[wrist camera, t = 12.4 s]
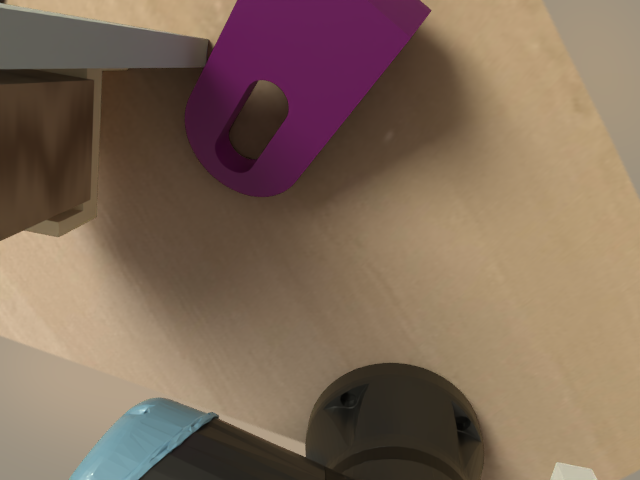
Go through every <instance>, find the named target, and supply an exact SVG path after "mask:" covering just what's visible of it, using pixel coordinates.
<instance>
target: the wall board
mask: <svg viewBox="0 0 640 480" xmlns="http://www.w3.org/2000/svg"><path fill="white" fill-rule="evenodd" d="M207 49H208V39H203V38H197V37H192V36H186V35H180V34H174V33H169V32H163V31H157V30H151V29H146V28H140V27H134V26H128V25H123V24H117V23H111V22H105V21H100V20H94V19H88V18H82V17H77V16H71V15H65V14H59V13H54V12H48V11H42V10H36V9H30V8H25V7H19V6H13V5H7V4H2V3H0V69H35V70H40V71H46V72H52V73H57V74H63V75H68V76H74V77H80V78H85V79H91V80H94V105H93V136H92V167H91V197H90V200H89V201H87V202H84V203H82V204H80V205H78V206H76V207H74V208H71V209H69V210H67V211H65V212H63V213H60V214H58V215H56V216H54V217H52V218H49V219H47V220H45V221H43V222H41V223H38V224H36V225H34V226H32V227H30V228H28V229H25V230H24V231H29V232H34V233H40V234H45V235H50V236H55V237H60V236H62V235H64V234H66V233H68V232H70V231H71V230H73V229H75V228H77V227H79V226H81V225H83V224H85V223H87V222H89V221H90V220H92V219H94V218H96V217H97V195H98V169H99V143H100V117H101V91H102V71H115V70H128V68H204V67H205V65H206V60H207Z"/></svg>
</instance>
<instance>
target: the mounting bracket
mask: <svg viewBox="0 0 640 480" xmlns="http://www.w3.org/2000/svg"><path fill="white" fill-rule="evenodd" d="M430 12H431V10H430V9H429V8H428V7H427V6H426V5H425V4H424V3H422V2H421V1H420V0H237V2H236V4H235V6H234V8H233V10H232V12H231V14H230V16H229V18H228V20H227V22H226V24H225V26H224V29H223V31H222V33H221V35H220V37H219V39H218V41H217V43H216V45H215V47H214V49H213V51H212V53H211V55H210V57H209V59H208V61H207V63H206V65H205V67H204V69H203V71H202V73H201V75H200V77H199V79H198V81H197V83H196V85H195V87H194V89H193V91H192V93H191V95H190V97H189V99H188V102H187V105H186V110H185V128H186V133H187V137H188V140H189V143H190V145H191V147H192V149H193V151H194V153H195V155H196V157H197V158H198V160H199V161H200V163H201V164H202V165H203V166H204V168H205V169H206V170H207V171H208V172H209V173H210V174H211V175H212V176H213V177H214V178H216V179H217V180H218V181H219V182H221V183H222V184H224V185H225V186H227V187H229V188H231V189H232V190H235V191H237V192H239V193H242V194H246V195H249V196H255V197H268V196H274V195H277V194H280V193H282V192H284V191H286V190H287V189H289V188H290V187H291V186H292V185H293V184H294V183H295V182H296V181H297V179H298V178H299V177H300V176H301V174H302V173H303V172H304V171H305V169H306V168H307V167H308V166H309V164H310V163H311V162H312V161H313V159H314V158H315V157H316V156H317V154H318V153H319V152H320V151H321V149H322V148H323V147H324V146H325V144H326V143H327V142H328V141H329V139H330V138H331V137H332V136H333V135H334V133H335V132H336V131H337V130H338V128H339V127H340V126H341V125H342V123H343V122H344V121H345V120H346V118H347V117H348V116H349V115H350V113H351V112H352V111H353V110H354V108H355V107H356V106H357V105H358V103H359V102H360V101H361V100H362V98H363V97H364V96H365V95H366V93H367V92H368V91H369V90H370V88H371V87H372V86H373V85H374V83H375V82H376V81H377V80H378V78H379V77H380V76H381V75H382V73H383V72H384V71H385V70H386V68H387V67H388V66H389V65H390V63H391V62H392V61H393V60H394V58H395V57H396V56H397V55H398V53H399V52H400V51H401V50H402V48H403V47H404V46H405V45H406V43H407V42H408V41H409V40H410V38H411V37H412V36H413V34H414V33H415V32H416V30H417V29H418V28H419V26H420V25H421V24H422V23H423V21H424V20H425V19H426V17H427V16H428V15H429V13H430ZM259 80H266V81H270V82H272V83H274V84H275V85H277V86H278V87H279V88H280V89H281V90H282V91H283V92H284V94H285V96H286V98H287V100H288V105H289V111H288V115H287V117H286V119H285V120H284V122H283V123H282V125H281V126H280V128H279V129H278V131H277V132H276V134H275V135H274V136H273V138H272V139H271V141H270V142H269V144H268V145H267V147H266V148H265V149H264V151H263V152H262V154H261V155H260V157H259V158H258V159H247V158H245V157H243V156H241V155H239V154H238V153H237V152H236V151H235V150H234V148H233V147H232V145H231V143H230V140H229V130H230V127H231V126H232V124H233V122H234V121H235V119H236V117H237V116H238V114H239V112H240V111H241V109H242V107H243V106H244V104H245V102H246V101H247V99H248V97H249V96H250V94H251V92H252V91H253V89H254V87H255V86H256V84H257V82H258V81H259Z"/></svg>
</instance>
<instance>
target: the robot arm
mask: <svg viewBox="0 0 640 480" xmlns="http://www.w3.org/2000/svg"><path fill="white" fill-rule="evenodd" d="M218 418H219V415H217V414H215V413H213V412H210V413H204V412H202V411H199V410H197V409H194V408H191V407H189V406H186V405H183V404H181V403H178V402H175V401H173V400H170V399H166V398H152V399H148V400H145V401H143V402H141V403H139V404H137V405H135V406H134V407H132V408H131V409H130V410H128V411H127V412H126V413H125V414H124V415H123V416H122V417H121V418H120V419H119V420H117V421H116V423H114V425H113V426H112V427H111V428H110V429H109V430H108V431H107V432H106V433H105V434H104V435H103V436H102V438H101V439H100V440H99V441H98V442H97V444H96V445H95V446H94V447H93V448H92V450H91V451H90V452H89V453H88V455H87V456H86V457H85V458H84V460H83V461H82V462H81V464H80V465H79V466H78V467H77V469H76V470H75V472H74V473H73V474H72V476H71V477H70V478H69V480H480V478H481V473H482V469H483V464H484V445H483V439H482V435H481V431H480V427H479V423H478V420H477V417H476V415H475V412H474V410H473V408H472V406H471V405H470V403H469V402H468V400H467V399H466V397H465V396H464V395H463V394H462V393H461V392H460V391H459V390H458V389H457V388H456V387H455V386H454V385H453V384H451V383H450V382H449V381H447V380H446V379H444V378H443V377H441V376H439V375H437V374H435V373H433V372H431V371H429V370H426V369H423V368H420V367H417V366H412V365H407V364H399V363H383V364H374V365H369V366H365V367H362V368H358V369H356V370H353V371H351V372H349V373H347V374H345V375H343V376H342V377H340V378H339V379H337V380H336V381H334V382H333V383H332V384H331V385H330V386H329V387H328V388H327V389H326V390H325V391H324V392H323V393H322V394H321V396H320V397H319V399H318V400H317V402H316V404H315V406H314V408H313V410H312V413H311V416H310V420H309V425H308V430H307V435H306V457H303V456H301V455H299V454H296V453H294V452H292V451H290V450H287V449H285V448H283V447H280V446H278V445H276V444H273V443H271V442H269V441H266V440H264V439H262V438H260V437H258V436H255V435H253V434H251V433H249V432H246V431H244V430H242V429H240V428H237V427H235V426H233V425H231V424H229V423H227V422H224V421H222V420H220V419H218ZM550 480H597V478H596V476H595V474H594V472H593V471H592V469H589V468H584V467H579V466H574V465H569V464H564V463H559V462H556V465H555V468H554V471H553V474H552V476H551V479H550Z"/></svg>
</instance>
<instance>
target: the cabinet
mask: <svg viewBox="0 0 640 480" xmlns="http://www.w3.org/2000/svg"><path fill="white" fill-rule="evenodd" d="M93 105H94V80H91V79H85V78H80V77H74V76H68V75H63V74H57V73H52V72H46V71H40V70H35V69H0V241H1V240H3V239H6V238H8V237H10V236H12V235H14V234H17V233H19V232H21V231H23V230H25V229H28V228H30V227H32V226H34V225H36V224H38V223H41V222H43V221H45V220H47V219H49V218H52V217H54V216H56V215H58V214H60V213H63V212H65V211H67V210H69V209H71V208H74V207H76V206H78V205H80V204H82V203H84V202H87V201H89V200H90V197H91V167H92V136H93Z"/></svg>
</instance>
